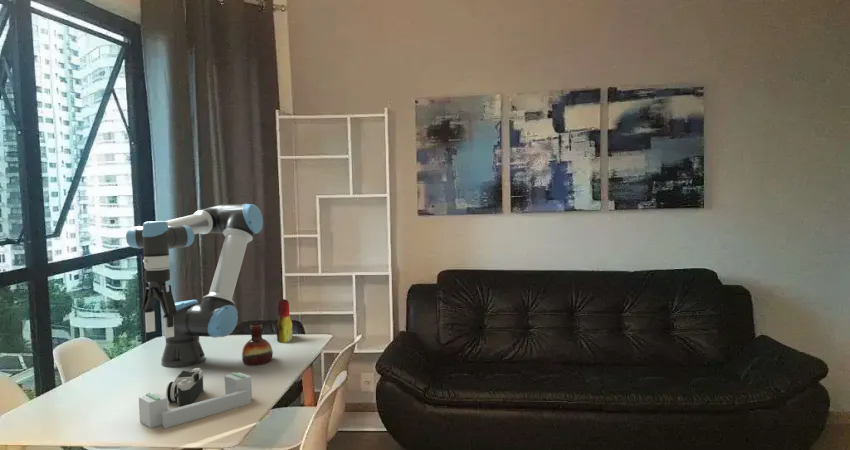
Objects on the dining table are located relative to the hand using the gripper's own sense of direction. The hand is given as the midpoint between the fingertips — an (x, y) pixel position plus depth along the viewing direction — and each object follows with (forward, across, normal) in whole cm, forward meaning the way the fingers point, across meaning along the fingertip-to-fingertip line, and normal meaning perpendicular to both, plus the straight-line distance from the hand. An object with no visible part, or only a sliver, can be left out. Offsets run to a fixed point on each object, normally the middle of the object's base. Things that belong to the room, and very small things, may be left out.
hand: (159, 334), depth 195 cm
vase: (+19, -2, +36) cm, 41 cm away
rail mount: (+19, +27, -1) cm, 33 cm away
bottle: (+19, -19, +61) cm, 66 cm away
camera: (+19, +14, +1) cm, 24 cm away
